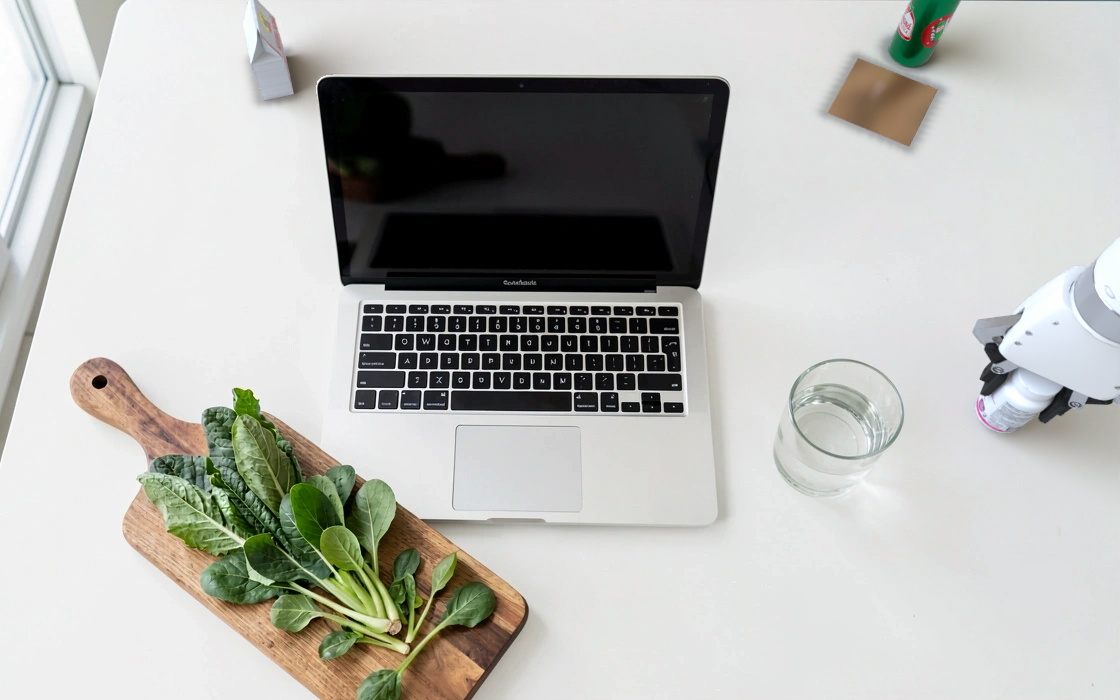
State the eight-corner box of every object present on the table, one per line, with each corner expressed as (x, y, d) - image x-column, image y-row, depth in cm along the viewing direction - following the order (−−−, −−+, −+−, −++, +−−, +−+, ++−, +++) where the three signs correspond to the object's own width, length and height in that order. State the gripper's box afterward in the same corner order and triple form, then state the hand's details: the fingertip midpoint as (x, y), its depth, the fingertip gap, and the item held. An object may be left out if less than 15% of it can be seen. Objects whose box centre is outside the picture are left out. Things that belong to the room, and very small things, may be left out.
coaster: (936, 91, 108) (937, 89, 108) (907, 148, 104) (909, 146, 104) (856, 60, 110) (858, 57, 110) (826, 115, 106) (827, 112, 106)
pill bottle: (980, 382, 90) (1021, 343, 82) (1028, 401, 89) (1075, 363, 81) (968, 422, 88) (1009, 386, 80) (1017, 442, 87) (1064, 407, 79)
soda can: (887, 37, 112) (926, -47, 101) (928, 43, 111) (973, -41, 100) (885, 67, 110) (926, -16, 99) (928, 73, 109) (973, -9, 98)
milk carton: (263, 102, 108) (241, 37, 99) (256, 61, 110) (233, -6, 101) (294, 96, 108) (274, 30, 99) (286, 55, 111) (265, -12, 102)
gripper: (1260, 308, 68) (1118, 405, 84) (1034, 216, 72) (941, 327, 88) (1238, 386, 65) (1096, 471, 82) (1005, 287, 69) (915, 387, 86)
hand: (1017, 395), depth 85 cm, fingers closed on pill bottle, 4 cm apart
